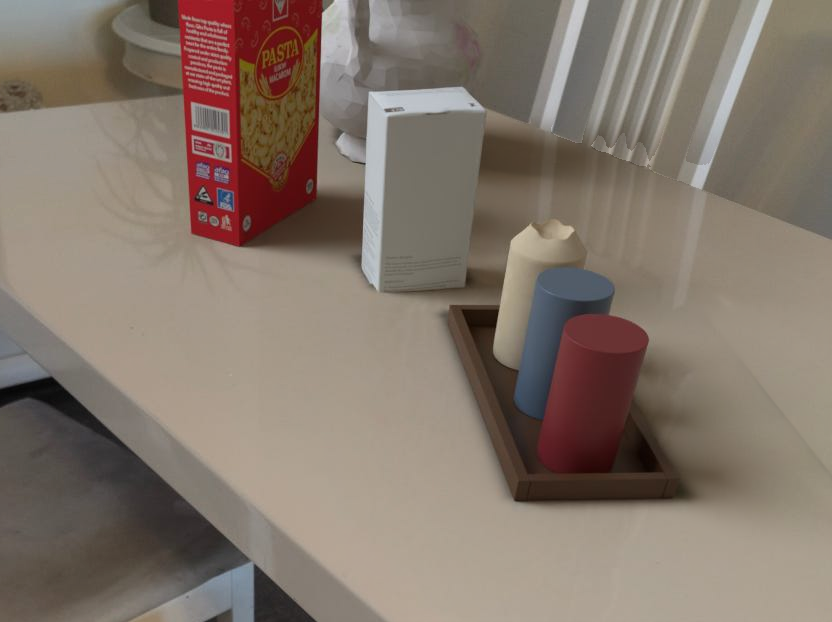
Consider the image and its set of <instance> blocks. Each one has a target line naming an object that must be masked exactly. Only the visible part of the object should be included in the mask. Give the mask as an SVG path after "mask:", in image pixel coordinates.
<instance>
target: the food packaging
mask: <svg viewBox="0 0 832 622" xmlns="http://www.w3.org/2000/svg"><path fill="white" fill-rule="evenodd" d="M323 1H324V0H177V9H178V22H179V23H178V26H179V40H180V41H179V43H180V44H179V45H180V61H181V79H182V95H183V113H184V130H185V131H184V132H185V147H186V161H187V162H186V165H187V185H188V201H189V202H188V203H189V220H190V233H191V234H193V235H196V236H199V237H203V238H207V239H212V240H215V241H218V242H222V243H225V244H228V245H229V244H230V245H233V246H236V247H241V246H242V245H245V244H246V243H247V242H249V241H250V240H252V239H253V238H256V237H257V236H258V235H260V234H262V233H263V232H265V231H266V230H268V229H270V228H272V227H273V226H274V225H276V224H278V223H279V222H281V221H283V220H284V219H286V218H287V217H289V216H290V215H292V214H293V213H295V212H297V211H298V210H300V209H302V208H303V207H305V206H306V205H308V204H310V203H311V202H313V201H314V200H316V199H317V198H318V197H317V192H318V166H319V165H318V163H319V162H318V161H319V159H318V158H319V127H320V112H319V101H320V69H321V36H322V13H323V5H324V4H323V3H324V2H323Z"/></svg>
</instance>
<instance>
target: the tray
mask: <svg viewBox="0 0 832 622" xmlns="http://www.w3.org/2000/svg"><path fill="white" fill-rule="evenodd" d="M499 309H500V304H449V306H448V315H447V326H448V328H449V331H450V334H451V336H452V339H453V342H454V345H455V347H456V350H457V352H458V355H459V358H460V360H461V363H462V366H463V369H464V371H465V374H466V376H467V379H468V382H469V384H470V387H471V390H472V392H473V395H474V398H475V401H476V403H477V405H478V408H479V411H480V414H481V416H482V419H483V421H484V424H485V427H486V430H487V433H488V435H489V437H490V440H491V443H492V446H493V448H494V452H495V454H496V457H497V460H498V461H499V465H500V467H501V470H502V473H503V475H504V477H505V481H506V483H507V485H508V486H507V487H508V488H509V491H510V494H511V497H512V499H513V501H514V502H552V501H554V502H555V501H556V502H557V501H558V502H559V501H563V502H564V501H615V500H616V501H617V500H621V501H622V500H673V499H674V497H675V494H676V490H677V488H678V485H679V483H680V477H679V475H678V473H677V472H676V470H675V468H674V467H673V465H672V463H671V462H670V460H669V458H668V457H667V455H666V453H665V452H664V450H663V448H662V447H661V445H660V443H659V441H658V440H657V438H656V437H655V435H654V433H653V432H652V430H651V428H650V426H649V425H648V423H647V422H646V420H645V418H644V417H643V415H642V413H641V412H640V410H639V407H638V406H637V405H636V403H635V401H634V400H633V399H632V402H631V406H630V409H629V413H628V416H627V419H626V423H625V426H624V430H623V433H622V437H621V440H620V444H619V447H618V451H617V454H616V458H615V461H614V465H613V468H612V469H611V471H610V472H609V473H578V474H557V473H554V472H552V471H551V470H549V469H547V468H546V467H545V466H544V465H543V464H542V463H541V462H540V461H539V459H538V457H537V447H538V442H539V437H540V433H541V428H542V424H543V420H539V419H536V418H533V417H530V416H528V415H526V414H525V413H523V412H522V411H520V410H519V409H518V408H517V406H516V405H515V402H514V394H515V389H516V383H517V378H518V373H519V371H518V370H515V369H512V368H509V367H507V366H505V365H503V364H502V363H500V362H499V361H498V360H497V359H496V358H495V356H494V354H493V346H494V339H495V333H496V327H497V321H498V315H499Z"/></svg>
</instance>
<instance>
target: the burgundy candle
mask: <svg viewBox="0 0 832 622" xmlns="http://www.w3.org/2000/svg"><path fill="white" fill-rule="evenodd" d="M649 342H650V338H649V334H648V333H647V332H646V330H645V329H644V328H643V327H641V326H640V325H638V324H636V323H635V322H633V321H631V320H628V319H626V318H623V317H619V316H616V315H611V314H609V315H605V314H584V315H579V316H575V317H573V318H571V319H569V320H568V321H567V322H566V323H565V325H564V328H563V333H562V337H561V342H560V346H559V351H558V355H557V360H556V364H555V369H554V374H553V378H552V383H551V387H550V392H549V396H548V401H547V406H546V410H545V415H544V419H543V424H542V428H541V433H540V437H539V442H538V447H537V457H538V459H539V461H540V462H541V463H542V464H543V465H544V466H545V467H546V468H547V469H549V470H551V471H552V472H554V473H557V474H578V473H609V472H610V471H611V469H612V468H613V465H614V461H615V458H616V454H617V451H618V447H619V444H620V440H621V437H622V433H623V430H624V426H625V423H626V419H627V416H628V413H629V409H630V406H631V402H632V400H633V398H634V394H635V391H636V388H637V385H638V381H639V378H640V374H641V370H642V366H643V363H644V360H645V357H646V352H647V350H648V346H649Z"/></svg>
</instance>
